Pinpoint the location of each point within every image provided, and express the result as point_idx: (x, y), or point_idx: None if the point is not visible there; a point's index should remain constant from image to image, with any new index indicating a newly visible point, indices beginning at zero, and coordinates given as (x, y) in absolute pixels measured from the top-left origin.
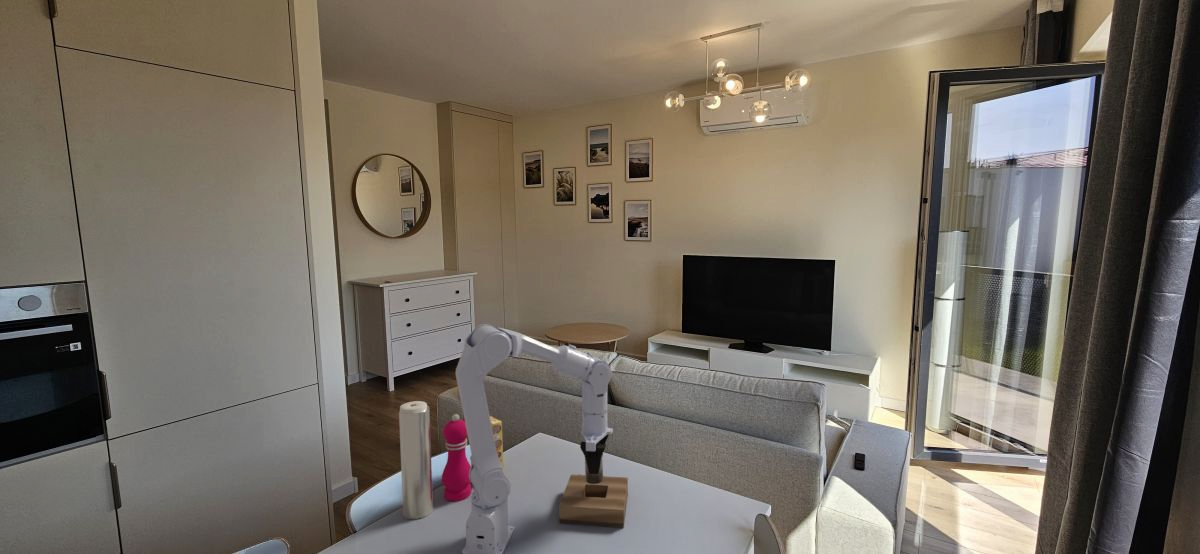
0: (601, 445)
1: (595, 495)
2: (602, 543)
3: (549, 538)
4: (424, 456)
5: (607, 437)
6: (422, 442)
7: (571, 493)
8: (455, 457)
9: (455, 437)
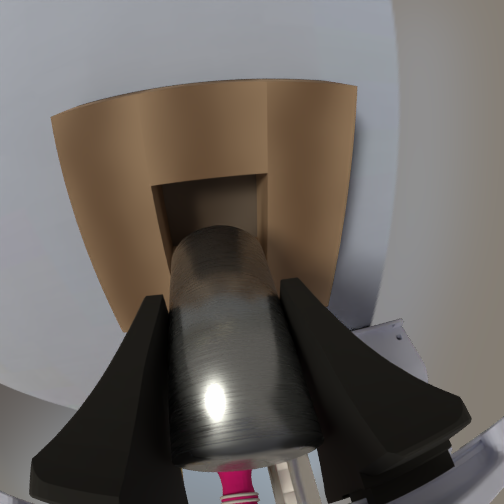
0: (416, 454)
1: (166, 217)
2: (394, 144)
3: (365, 270)
4: (310, 494)
5: (124, 485)
6: None
7: None
8: (251, 480)
9: None
